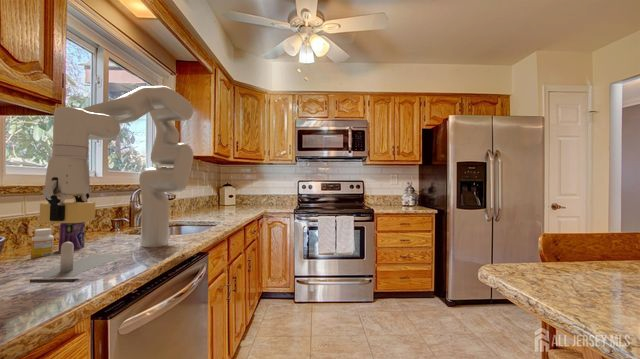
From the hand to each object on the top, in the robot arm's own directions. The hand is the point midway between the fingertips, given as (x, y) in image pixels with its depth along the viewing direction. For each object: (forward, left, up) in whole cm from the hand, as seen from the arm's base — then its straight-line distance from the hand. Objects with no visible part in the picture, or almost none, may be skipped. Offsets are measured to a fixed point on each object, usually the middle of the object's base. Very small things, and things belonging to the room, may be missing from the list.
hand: (68, 218), depth 79 cm
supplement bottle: (-19, -21, -16) cm, 32 cm away
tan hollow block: (0, 0, -1) cm, 1 cm away
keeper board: (-7, 0, -16) cm, 17 cm away
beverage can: (-29, -19, -16) cm, 38 cm away
